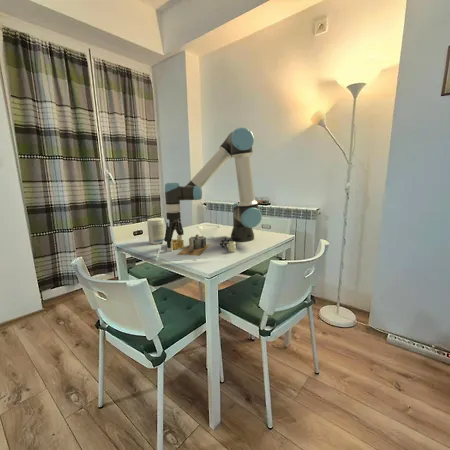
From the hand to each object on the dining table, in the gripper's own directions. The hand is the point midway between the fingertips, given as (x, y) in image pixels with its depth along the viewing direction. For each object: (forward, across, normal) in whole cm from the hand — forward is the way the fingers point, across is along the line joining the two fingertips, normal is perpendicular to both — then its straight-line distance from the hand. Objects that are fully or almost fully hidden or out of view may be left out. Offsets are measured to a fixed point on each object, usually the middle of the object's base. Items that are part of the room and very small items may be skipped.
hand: (175, 249), depth 140 cm
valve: (0, 0, +31) cm, 31 cm away
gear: (-1, -3, +12) cm, 13 cm away
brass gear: (0, 0, 0) cm, 0 cm away
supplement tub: (0, -13, -18) cm, 22 cm away
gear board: (0, +2, +12) cm, 12 cm away
